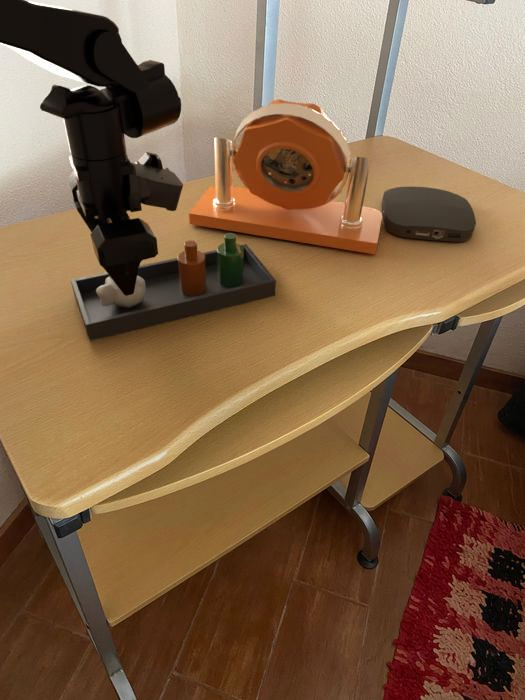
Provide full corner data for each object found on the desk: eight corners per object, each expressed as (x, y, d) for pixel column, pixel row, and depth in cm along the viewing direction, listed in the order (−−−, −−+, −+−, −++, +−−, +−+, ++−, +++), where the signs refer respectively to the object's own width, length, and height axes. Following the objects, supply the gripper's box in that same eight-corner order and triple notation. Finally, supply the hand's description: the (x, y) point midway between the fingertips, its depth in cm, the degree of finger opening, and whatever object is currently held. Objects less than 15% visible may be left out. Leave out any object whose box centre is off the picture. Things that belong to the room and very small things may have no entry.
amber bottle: (184, 298, 70) (181, 253, 66) (176, 284, 73) (172, 239, 68) (210, 292, 71) (208, 247, 67) (201, 278, 74) (199, 234, 69)
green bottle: (223, 289, 72) (222, 244, 67) (213, 275, 74) (212, 231, 70) (247, 284, 73) (248, 239, 69) (237, 270, 76) (237, 226, 71)
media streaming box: (460, 204, 95) (465, 188, 93) (476, 246, 84) (481, 229, 82) (379, 197, 96) (382, 182, 94) (384, 238, 85) (388, 221, 83)
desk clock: (373, 259, 80) (402, 123, 67) (188, 228, 85) (180, 96, 72) (380, 221, 89) (407, 95, 76) (212, 195, 94) (209, 72, 80)
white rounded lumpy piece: (157, 303, 69) (150, 251, 64) (113, 324, 66) (102, 270, 60) (133, 285, 72) (125, 233, 67) (90, 304, 68) (78, 251, 63)
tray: (89, 341, 64) (85, 325, 62) (74, 295, 71) (70, 279, 69) (275, 295, 72) (276, 280, 71) (245, 258, 79) (246, 243, 77)
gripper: (200, 174, 52) (206, 301, 62) (148, 113, 64) (160, 228, 75) (86, 192, 48) (112, 323, 59) (54, 124, 61) (80, 242, 71)
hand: (119, 274), depth 66 cm, fingers open, 9 cm apart
